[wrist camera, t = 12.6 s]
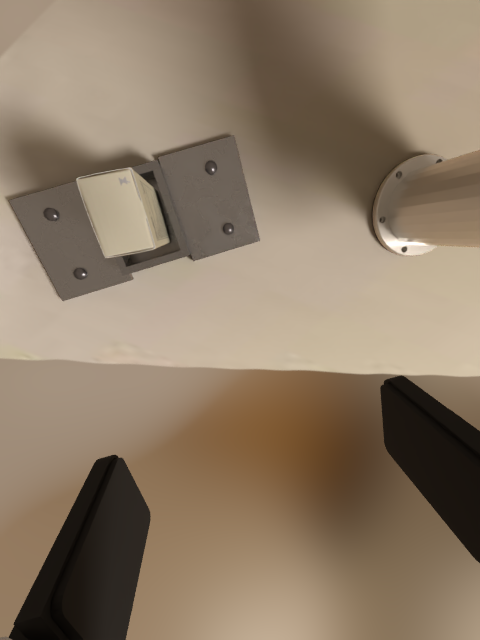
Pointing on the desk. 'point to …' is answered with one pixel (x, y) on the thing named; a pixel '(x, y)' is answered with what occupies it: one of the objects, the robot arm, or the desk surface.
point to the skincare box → (123, 212)
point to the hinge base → (178, 207)
